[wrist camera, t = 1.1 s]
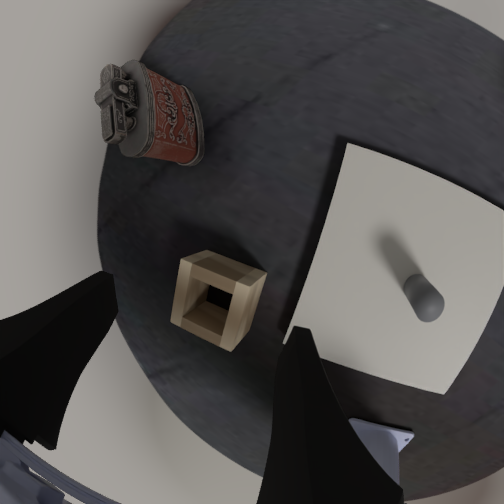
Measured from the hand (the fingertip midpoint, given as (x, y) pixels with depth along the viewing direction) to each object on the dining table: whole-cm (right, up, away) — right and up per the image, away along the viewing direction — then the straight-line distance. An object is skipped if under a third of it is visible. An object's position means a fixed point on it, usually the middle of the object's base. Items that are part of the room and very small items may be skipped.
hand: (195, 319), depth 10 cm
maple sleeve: (0, -1, +13) cm, 13 cm away
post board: (+14, 0, +8) cm, 16 cm away
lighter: (-4, +14, +12) cm, 19 cm away
